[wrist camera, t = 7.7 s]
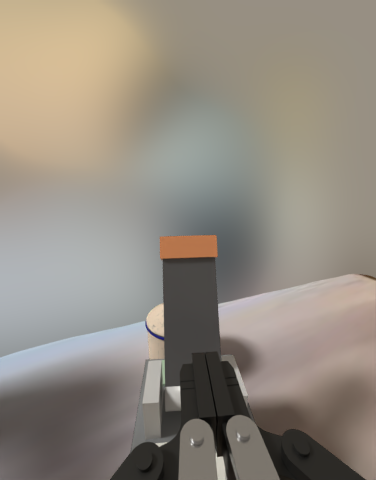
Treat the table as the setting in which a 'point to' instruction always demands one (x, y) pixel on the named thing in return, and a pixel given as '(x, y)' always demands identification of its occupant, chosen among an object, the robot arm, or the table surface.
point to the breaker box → (153, 409)
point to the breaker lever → (188, 306)
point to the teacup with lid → (156, 332)
